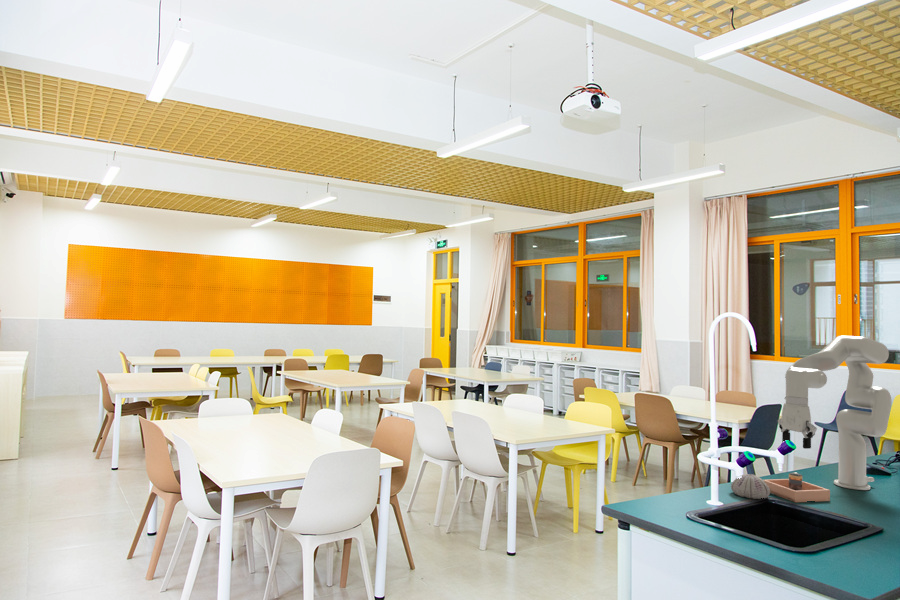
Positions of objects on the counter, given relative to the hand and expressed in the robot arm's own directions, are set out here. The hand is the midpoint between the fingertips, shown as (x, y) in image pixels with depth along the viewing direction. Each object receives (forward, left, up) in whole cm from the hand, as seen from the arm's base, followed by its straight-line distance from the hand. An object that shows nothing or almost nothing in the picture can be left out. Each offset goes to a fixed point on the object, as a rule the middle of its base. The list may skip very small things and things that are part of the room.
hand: (796, 445), depth 227 cm
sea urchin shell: (+19, -2, -19) cm, 28 cm away
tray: (0, 0, -19) cm, 19 cm away
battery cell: (0, 0, -18) cm, 18 cm away
